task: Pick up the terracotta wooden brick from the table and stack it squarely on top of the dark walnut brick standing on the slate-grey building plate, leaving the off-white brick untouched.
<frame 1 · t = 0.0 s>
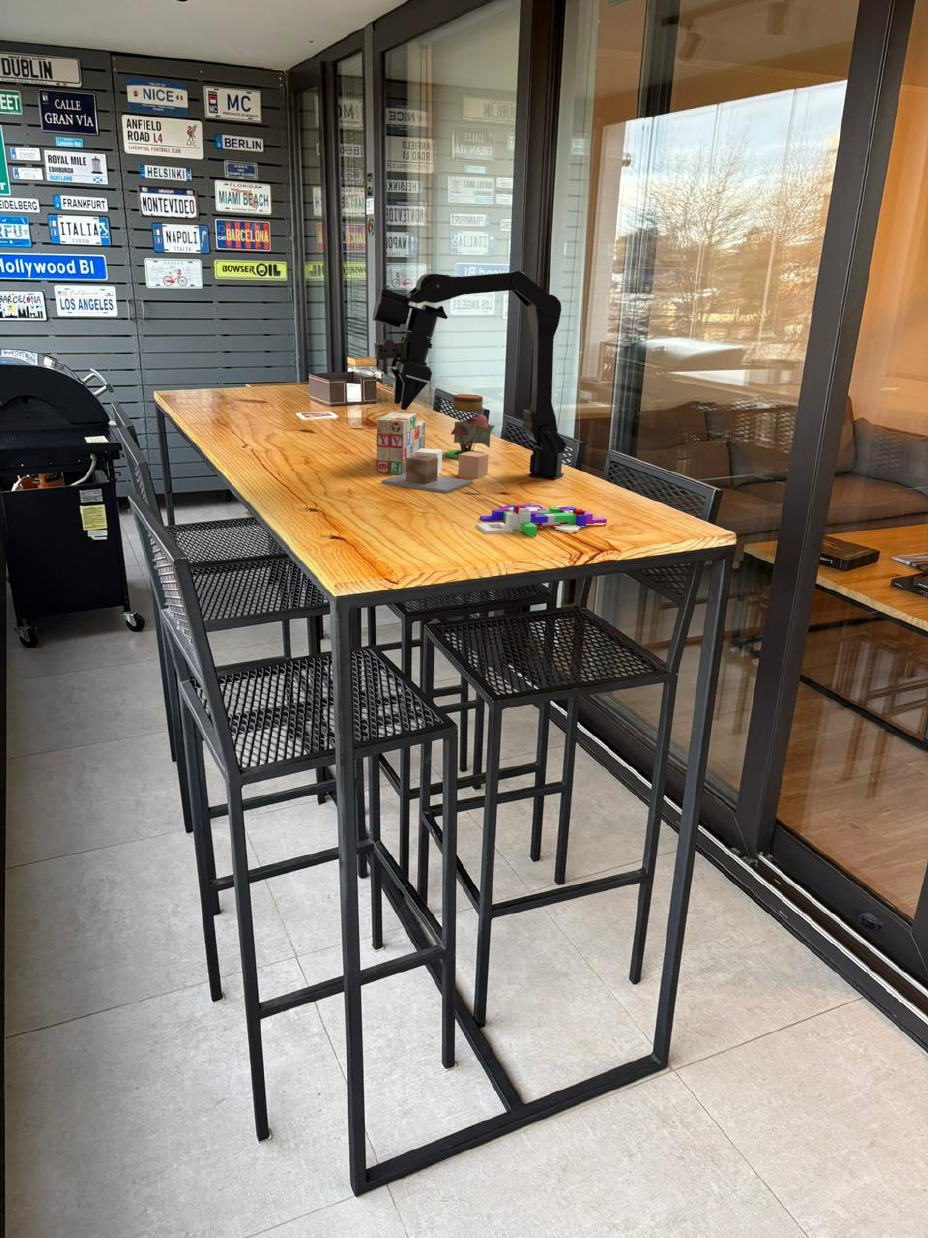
hand: (399, 406, 196), 15 cm above the table, tool pointing down, fingers open, 9 cm apart
stack of blocks: (401, 466, 215), on the table
walnut brick: (421, 480, 196), point 1 cm above the table, touching building plate
building plate: (427, 483, 197), on the table
building block set: (533, 524, 170), on the table
terracotta brick: (472, 475, 207), on the table
plant figurine: (467, 456, 230), on the table
offwhite brick: (428, 472, 209), on the table
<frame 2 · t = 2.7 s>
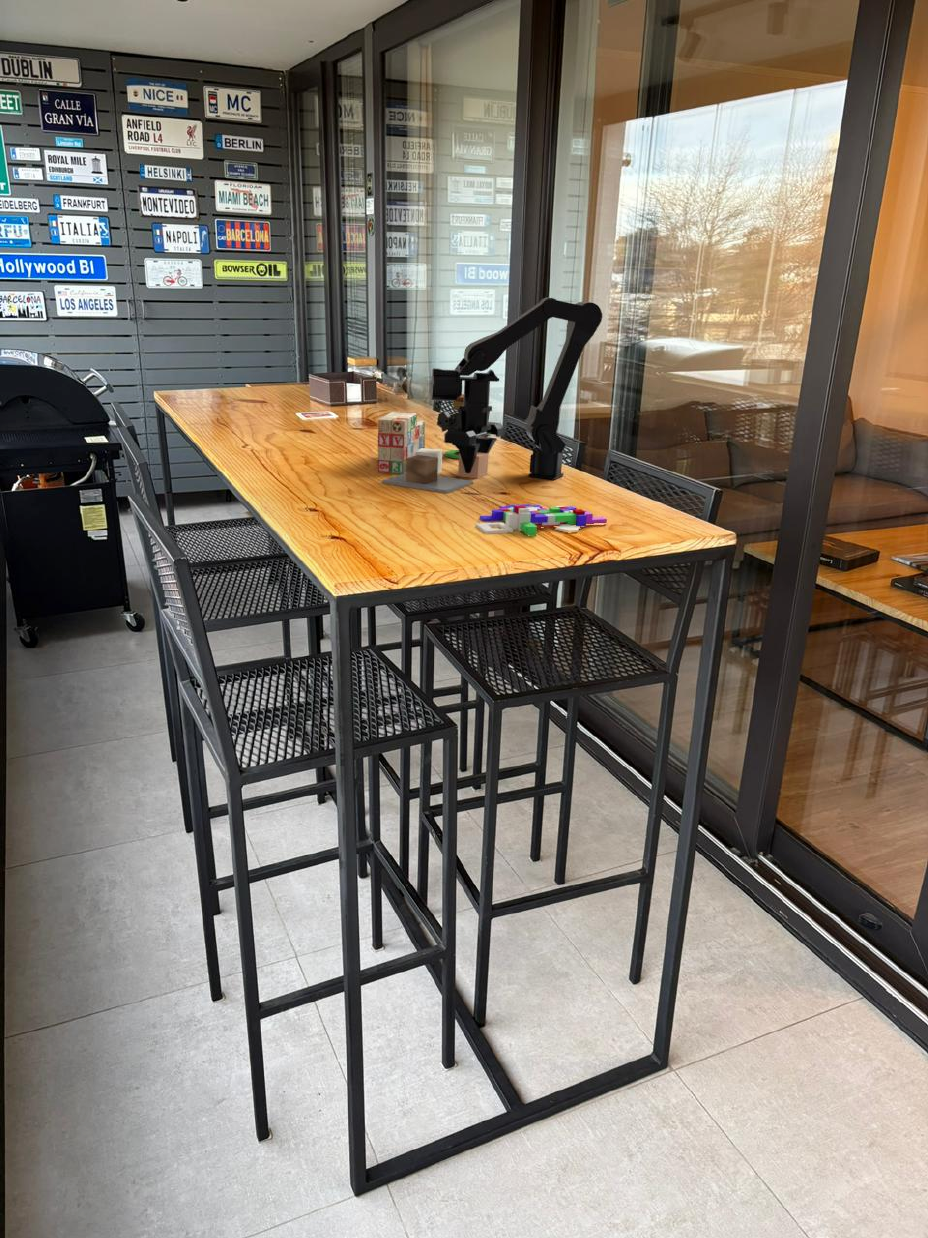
hand: (473, 470, 207), 1 cm above the table, tool pointing down, fingers closed on terracotta brick, 5 cm apart
terracotta brick: (472, 475, 207), on the table, touching gripper
everything else where it was.
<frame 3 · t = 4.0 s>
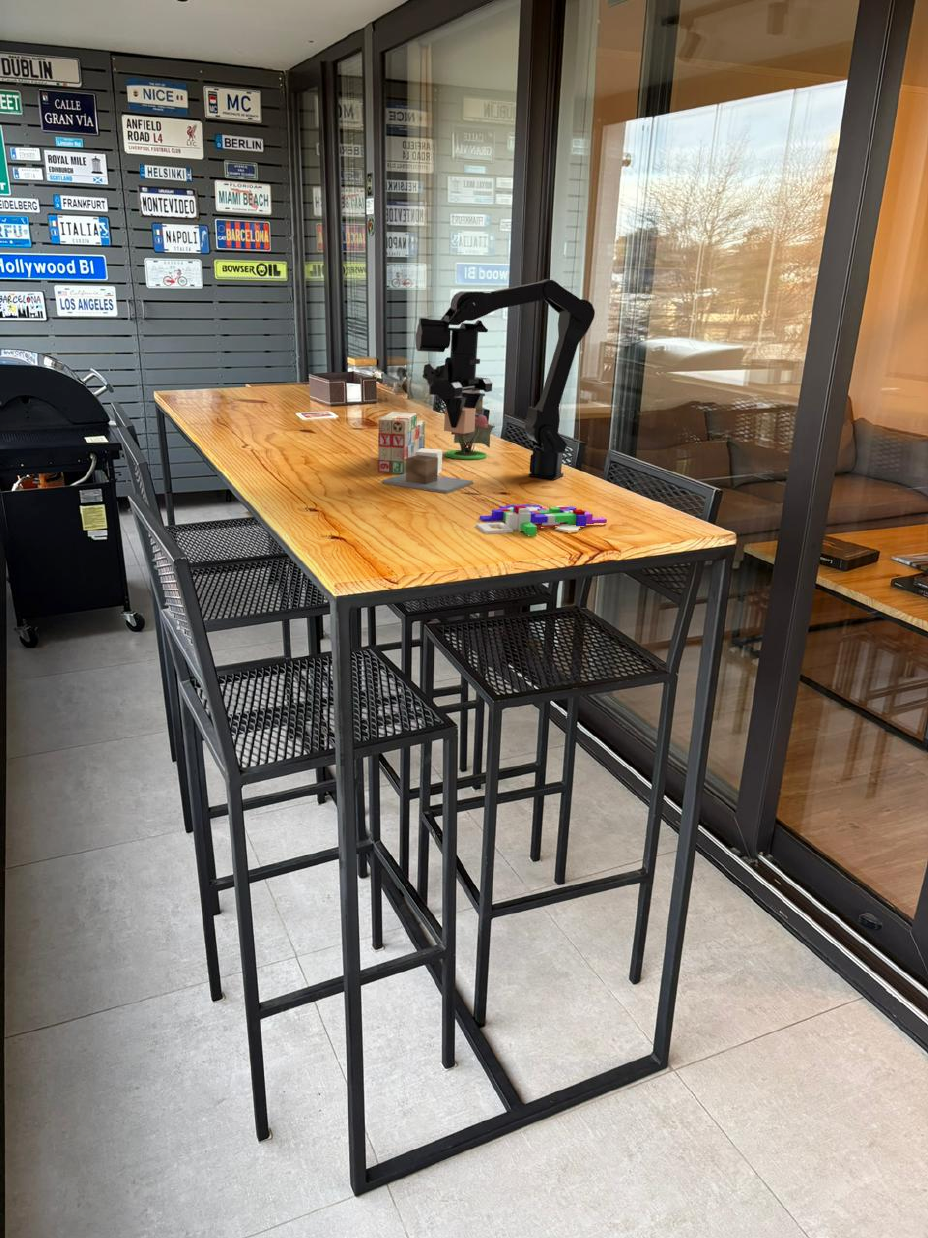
hand: (459, 426, 200), 11 cm above the table, tool pointing down, fingers closed on terracotta brick, 5 cm apart
terracotta brick: (459, 431, 200), point 10 cm above the table, touching gripper
everything else where it was.
when the fingers open (8 cm above the table, at t = 5.7 s): terracotta brick stays where it is, resting on walnut brick.
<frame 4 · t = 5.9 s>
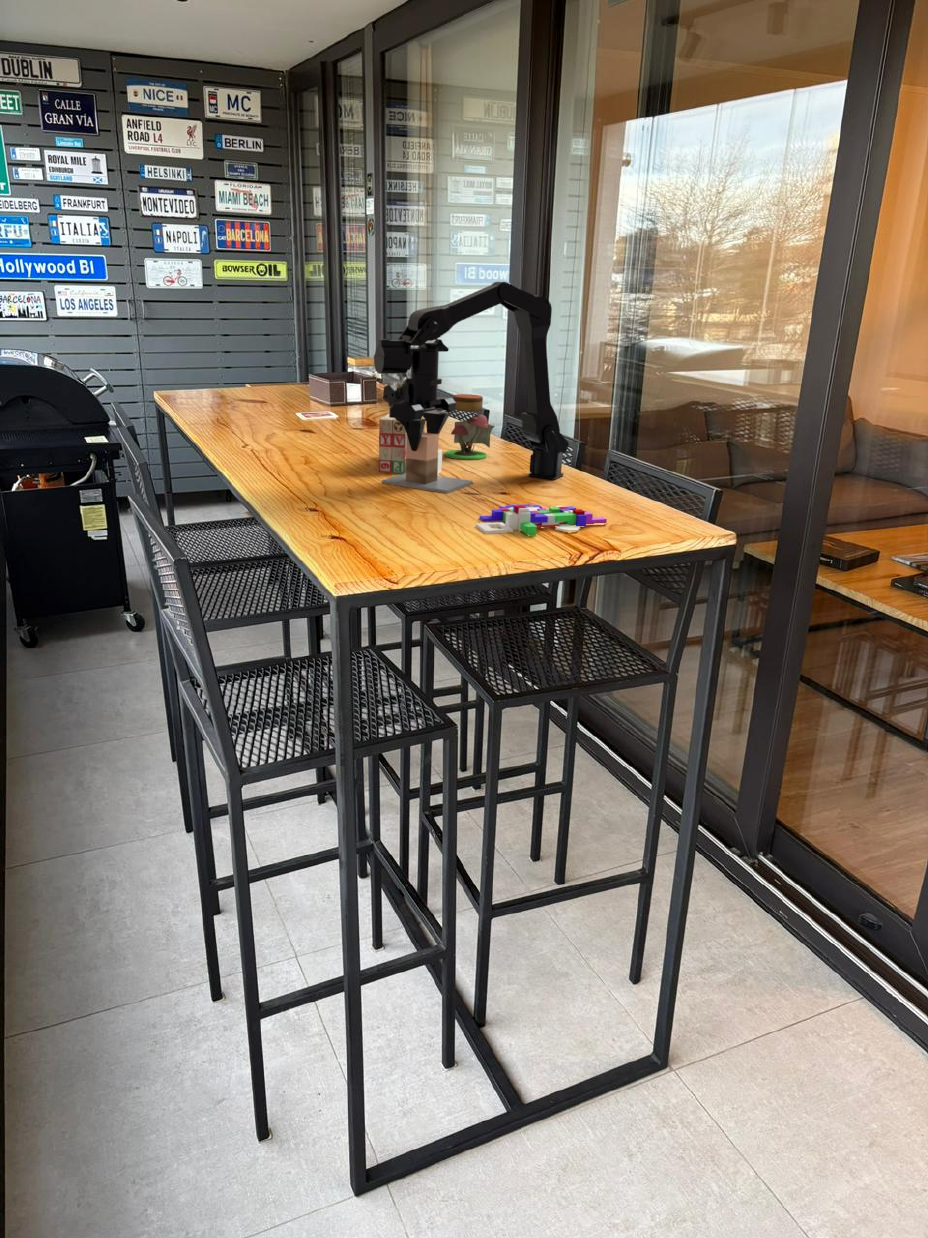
hand: (422, 448, 194), 8 cm above the table, tool pointing down, fingers open, 7 cm apart
walnut brick: (421, 480, 196), point 1 cm above the table, touching building plate, terracotta brick
terracotta brick: (422, 457, 195), point 6 cm above the table, touching walnut brick
everything else where it was.
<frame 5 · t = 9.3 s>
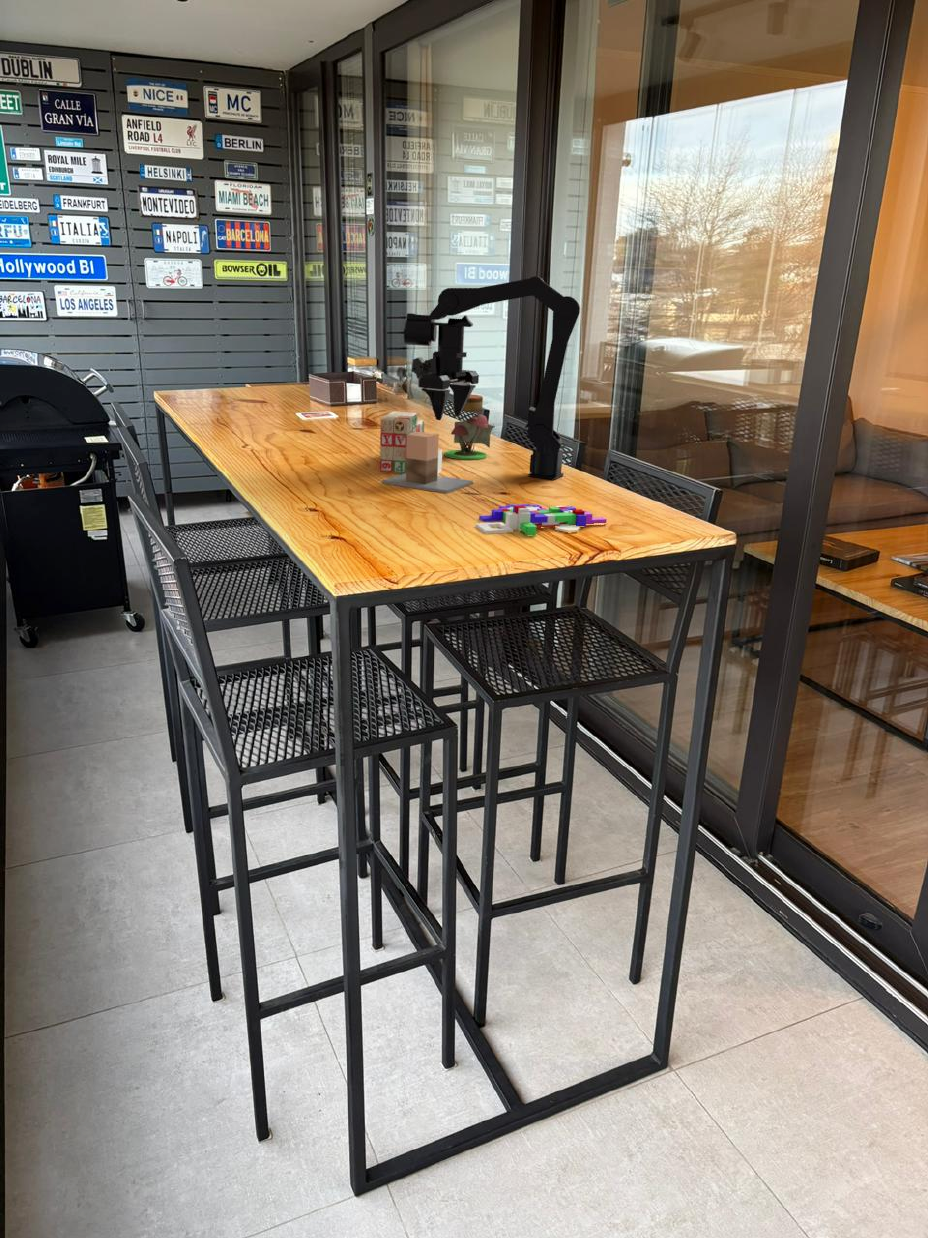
hand: (448, 417, 208), 12 cm above the table, tool pointing down, fingers open, 9 cm apart
at the end: terracotta brick 0.1 cm off-centre on the walnut brick, point 5.0 cm above the walnut brick's base; terracotta brick tilted 0°; walnut brick moved 0.0 cm from its start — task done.
